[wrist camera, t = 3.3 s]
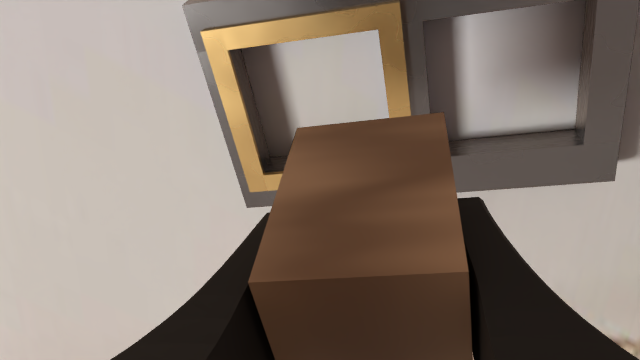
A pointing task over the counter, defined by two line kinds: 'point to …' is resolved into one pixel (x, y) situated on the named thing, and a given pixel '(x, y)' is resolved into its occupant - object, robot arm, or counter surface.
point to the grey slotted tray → (417, 85)
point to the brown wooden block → (366, 246)
